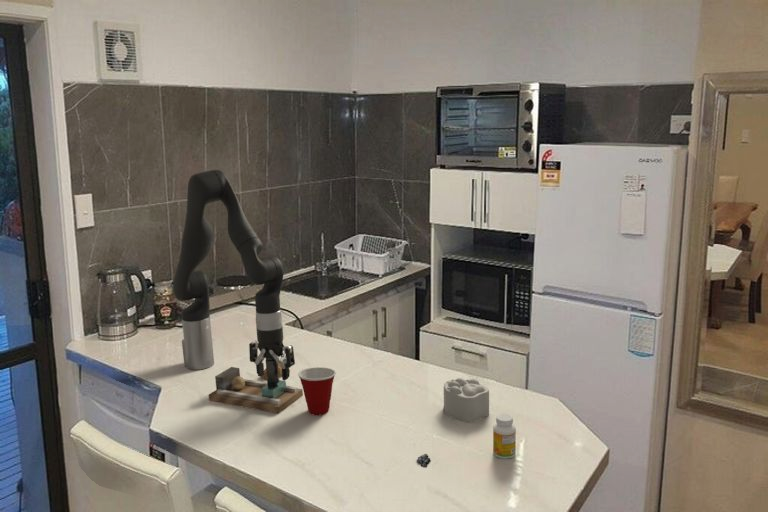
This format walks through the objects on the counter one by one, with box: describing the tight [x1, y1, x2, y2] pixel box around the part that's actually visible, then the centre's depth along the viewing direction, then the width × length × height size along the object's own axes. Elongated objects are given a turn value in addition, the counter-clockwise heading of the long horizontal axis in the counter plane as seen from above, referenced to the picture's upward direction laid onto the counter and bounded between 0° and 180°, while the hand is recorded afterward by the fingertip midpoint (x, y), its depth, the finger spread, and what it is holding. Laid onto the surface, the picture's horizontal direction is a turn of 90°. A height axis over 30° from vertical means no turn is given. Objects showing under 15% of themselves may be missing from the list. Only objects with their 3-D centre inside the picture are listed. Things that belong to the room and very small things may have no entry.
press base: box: [208, 366, 304, 414], centre depth 192 cm, size 25×13×7 cm, turn 66°
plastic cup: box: [297, 366, 337, 416], centre depth 181 cm, size 11×11×12 cm
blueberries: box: [416, 453, 437, 468], centre depth 154 cm, size 7×8×2 cm
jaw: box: [261, 359, 287, 399], centre depth 188 cm, size 4×7×11 cm, turn 156°
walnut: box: [232, 375, 245, 390], centre depth 194 cm, size 4×4×4 cm
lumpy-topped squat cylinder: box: [443, 377, 490, 423], centre depth 179 cm, size 10×13×9 cm
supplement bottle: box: [492, 413, 517, 460], centre depth 155 cm, size 5×5×10 cm
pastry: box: [261, 363, 291, 380], centre depth 210 cm, size 9×7×4 cm
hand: (273, 377), depth 188 cm, fingers open, 8 cm apart
